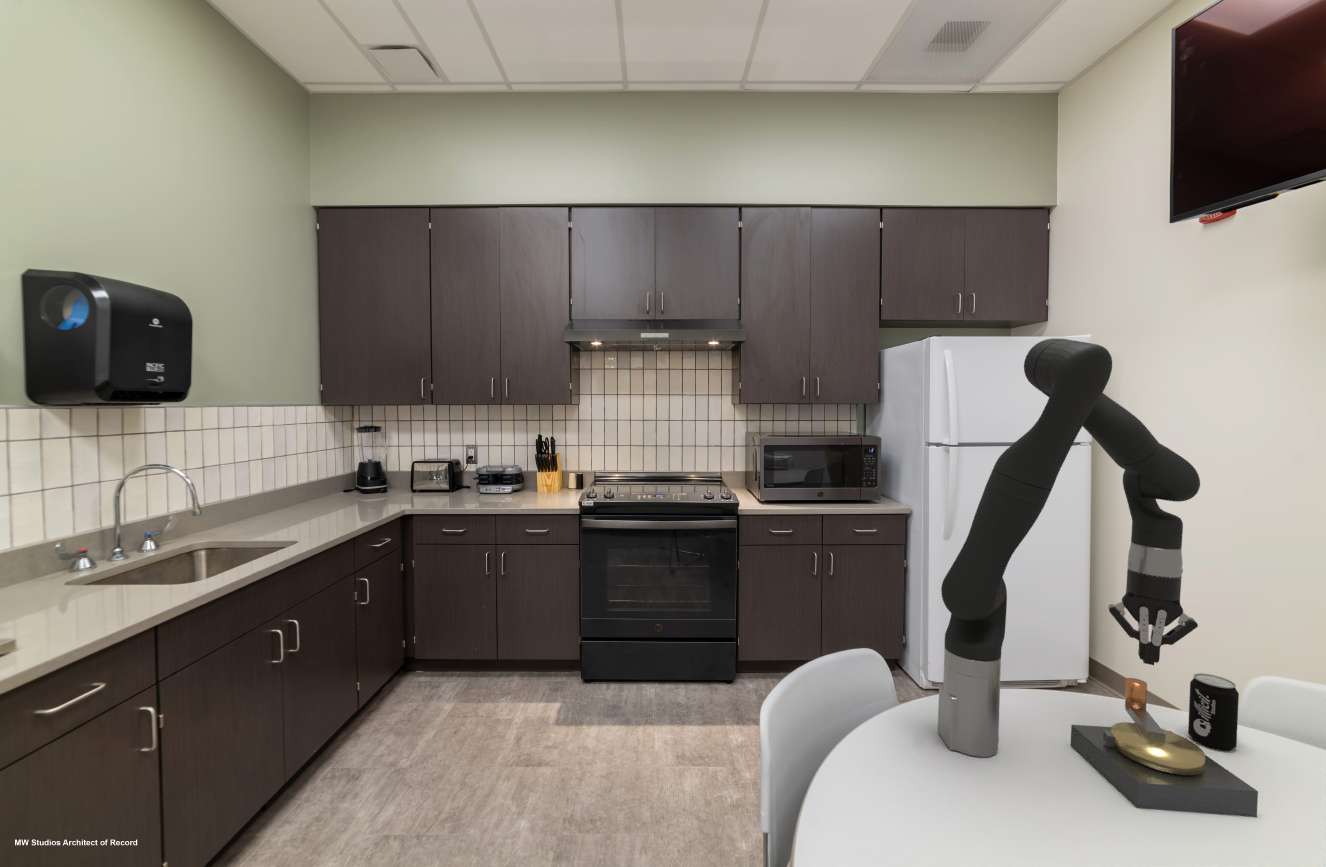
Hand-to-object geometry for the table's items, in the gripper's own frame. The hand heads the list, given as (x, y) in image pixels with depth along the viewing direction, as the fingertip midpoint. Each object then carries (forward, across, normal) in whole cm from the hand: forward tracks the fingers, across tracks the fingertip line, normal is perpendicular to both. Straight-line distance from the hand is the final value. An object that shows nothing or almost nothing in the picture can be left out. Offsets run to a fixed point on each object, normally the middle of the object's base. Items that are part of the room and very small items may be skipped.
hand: (1148, 662), depth 105 cm
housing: (+16, 0, +11) cm, 19 cm away
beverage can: (+16, -11, -10) cm, 22 cm away
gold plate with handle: (+12, +1, +8) cm, 14 cm away
